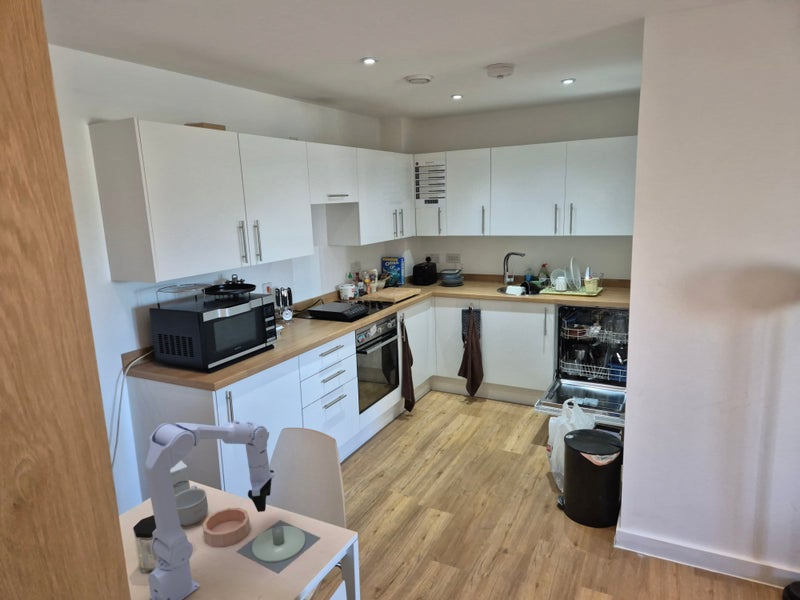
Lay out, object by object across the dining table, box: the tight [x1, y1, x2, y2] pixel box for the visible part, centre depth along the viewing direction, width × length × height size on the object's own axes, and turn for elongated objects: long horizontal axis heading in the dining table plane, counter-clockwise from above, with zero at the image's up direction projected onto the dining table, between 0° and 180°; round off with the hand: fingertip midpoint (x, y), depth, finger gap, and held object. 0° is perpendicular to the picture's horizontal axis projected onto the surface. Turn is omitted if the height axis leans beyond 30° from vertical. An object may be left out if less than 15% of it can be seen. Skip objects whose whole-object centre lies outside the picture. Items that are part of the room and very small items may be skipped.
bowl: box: [202, 507, 251, 548], centre depth 155 cm, size 13×13×4 cm
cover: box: [252, 526, 305, 563], centre depth 149 cm, size 15×15×5 cm
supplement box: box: [170, 460, 191, 495], centre depth 173 cm, size 7×7×13 cm
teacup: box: [175, 485, 209, 527], centre depth 164 cm, size 14×11×8 cm
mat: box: [235, 519, 321, 574], centre depth 149 cm, size 17×17×1 cm
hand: (264, 502), depth 154 cm, fingers open, 7 cm apart
